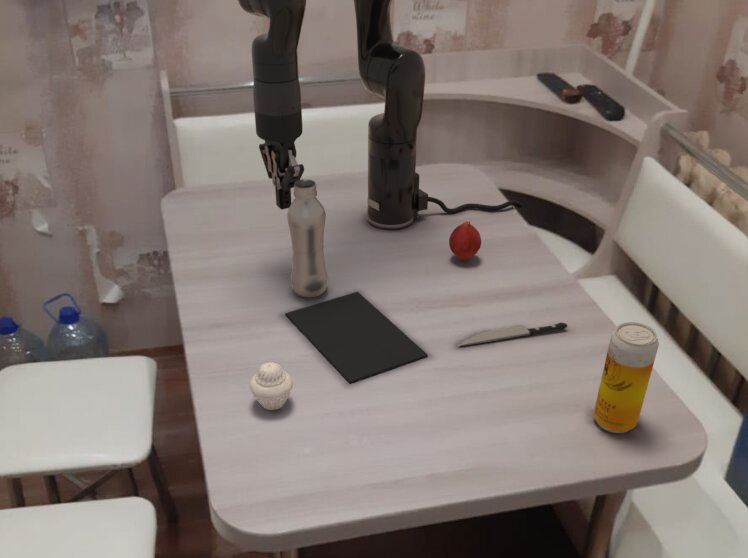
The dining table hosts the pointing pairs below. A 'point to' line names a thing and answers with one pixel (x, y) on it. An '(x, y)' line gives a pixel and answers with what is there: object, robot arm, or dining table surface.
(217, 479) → the dining table surface
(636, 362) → the beer can
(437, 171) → the dining table surface
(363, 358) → the rubber mat
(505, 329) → the chef's knife
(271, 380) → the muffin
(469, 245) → the onion
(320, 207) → the plastic bottle
